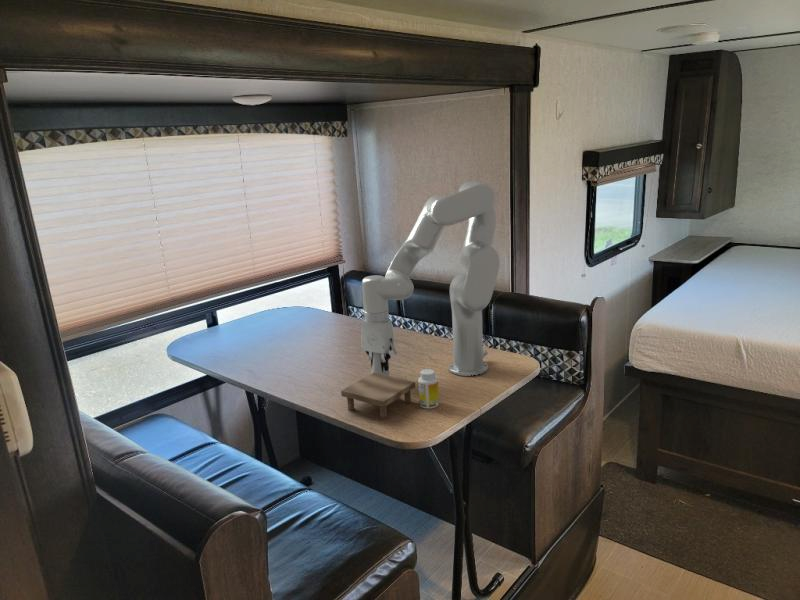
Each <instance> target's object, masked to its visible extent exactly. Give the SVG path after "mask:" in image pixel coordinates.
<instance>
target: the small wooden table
mask: <svg viewBox="0 0 800 600" xmlns="http://www.w3.org/2000/svg"><path fill="white" fill-rule="evenodd" d="M415 388H416V381H413V380H408V379H403V378H399V377H394V376H392V375H391V376H390V375H389V376H386V375H382V374H377V373H372V374H371V373H370V374H368V375H367V376H365V377H363V378H362V379H359V380H358V381H357V382H354V383H352V384H351V385H349V386H347V387H345V388H344V389H341V390H340V394H341V397H345V398H346V400H347V401H346V402H347V403H346V404H347V410H348V411H354V410H355V400H356V401H359V402H364V403H366V404H370V405H375V406H378V407H379V417H380V420H382V421H384V420H387V419H388V414H387V412H388V409H387V406H388V405H389V404H392V403H393V402H394V401H396V400H397V399H399V398H400V397H402V396H404V397H403V398H404V403H405V404H411V403H412V396H411V391H412V390H413V389H415Z"/></svg>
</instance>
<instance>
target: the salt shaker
mask: <svg viewBox="0 0 800 600" xmlns="http://www.w3.org/2000/svg"><path fill="white" fill-rule="evenodd" d="M381 362H382V359H381V354H379V353H374V352H373V365H372V367H371V371H370V375H371V374H372V373H377V374H382V375H386V376H390V370H388V371H385V369H384V367H383V373H382V368H381Z"/></svg>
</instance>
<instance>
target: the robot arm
mask: <svg viewBox="0 0 800 600" xmlns="http://www.w3.org/2000/svg"><path fill="white" fill-rule="evenodd" d="M495 202H496V192H495V191H494V189H493V187H491V186H490V185H489V184H487V183H484V182H479V181H467V182H464V183H463V184H462V185H460V187H459V189H458V192H454V193H452V194H449V195H437V194H436V195H433V196H431V197H429V198H428V199H427V200H426V202H425V203H424V205H423V207H422V210H421V211H420V213H419V215H418V217H417V219H416V221H415V223H414V225H413V227H412V229H411V231H410V233H409V235H408V237H407V238H406V239H405V241H404V242H403V244H402V245H401V247H400V248H399V250H397V252H396V254H395V255H394V257H393V259H392V261H391V262H390V265H389V267H388V268H387V271H386V273H385V276H384V275H378V274H377V275H376V274H374V275H369V276H365V277H364V278H363V279H362V280H361V288H362V289H361V290H362V302H363V303H362V305H363V310H362V312H361V314H362V315H364V316H363V317H364V318H363V319H362V321H361V333H360V337H361V338H360V342H361V350H362V351H364V352H365V354H366V355H368V359H369V360H370V367H371V368H372V365H373V352H374V353H379V354H381V359H382V362H381V368H382V373H383V367H384V369H385V371H388V370H389V369H390V368H389V367H390V363H389V360H391V358H392V357H394V356H396V355H398V352H397V350H396V348H395V335H394V330H393V325H392V320H391V319H390V317H389V315H390V314H389V300H393V301H403V300H406V299H408V298H410V297H411V296H412V294H413V292H414V289H415V288H414V283H413V281H412V280H411V278H410V277H411V274H412V273H413V271H414V269H415V267H416V266H417V265H418V263H419V262H420V261H421V260H422V259H423V258H425V257H426V256H428V255H429V254H430V253H432V252H433V251H434V248H435V247H436V245H437V243H438V242H439V239H440V237H441V235H442V233H443V231H444V229H445V227H450V226H453V225H457V224H460V223H463V222H464V221H467V220H468V222H467V229H466V232H465V237H464V241H463V244H462V248H461V251H460V262H461V264H462V266H464V268H465V269H467V270H466V273H461V274H457V275H456V276H455V277H454V278H452V280H451V282H450V285H449V300H450V307H451V316H452V317H451V321H452V349H453V350H452V351H453V355H452V356H453V362H451V363H449V365H448V370H449V372H450V373H452V374H453V375H456V376H460V377H462V376H463V377H474V376H473V375H476V376H479V375H478V374H480V375H483V374H485V373H486V372H487V371H488V369H489V366H488V363H487V362H485V361H484V357H487V355H488V351H487V350H486V349H484V347H483V345H484V344H483V343H484V342H483V341H484V340H483V334H484V333H483V310H484V309H485V308H487V306H488V305H489V303H490V301H491V300H492V297H493V294H494V290H495V286H496V282H497V279H498V274H499V271H500V266H501V265H500V263H501V262H500V261H501V260H500V255H499V253H498V251H497V250H496V248H494V247H493V242H494V237H495V233H496V227H497V215H496V210H495V206H494V204H495ZM389 371H390V370H389ZM484 372H485V373H484ZM482 373H483V374H482ZM471 375H472V376H471Z"/></svg>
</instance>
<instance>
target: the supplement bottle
mask: <svg viewBox="0 0 800 600" xmlns="http://www.w3.org/2000/svg"><path fill="white" fill-rule="evenodd" d="M417 383H418V384H417V385H418V400H419V402H418V403H419V406H420V407H421V408H423V409H426V410H428V409H429V410H431V409H435V408H437V407H438V406H439V404H440V399H439V398H440V397H439V379H438V377H437V376H436V373H435V370H434V369H431V368H425V369H422V370H421V371H420V377H418V380H417Z"/></svg>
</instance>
